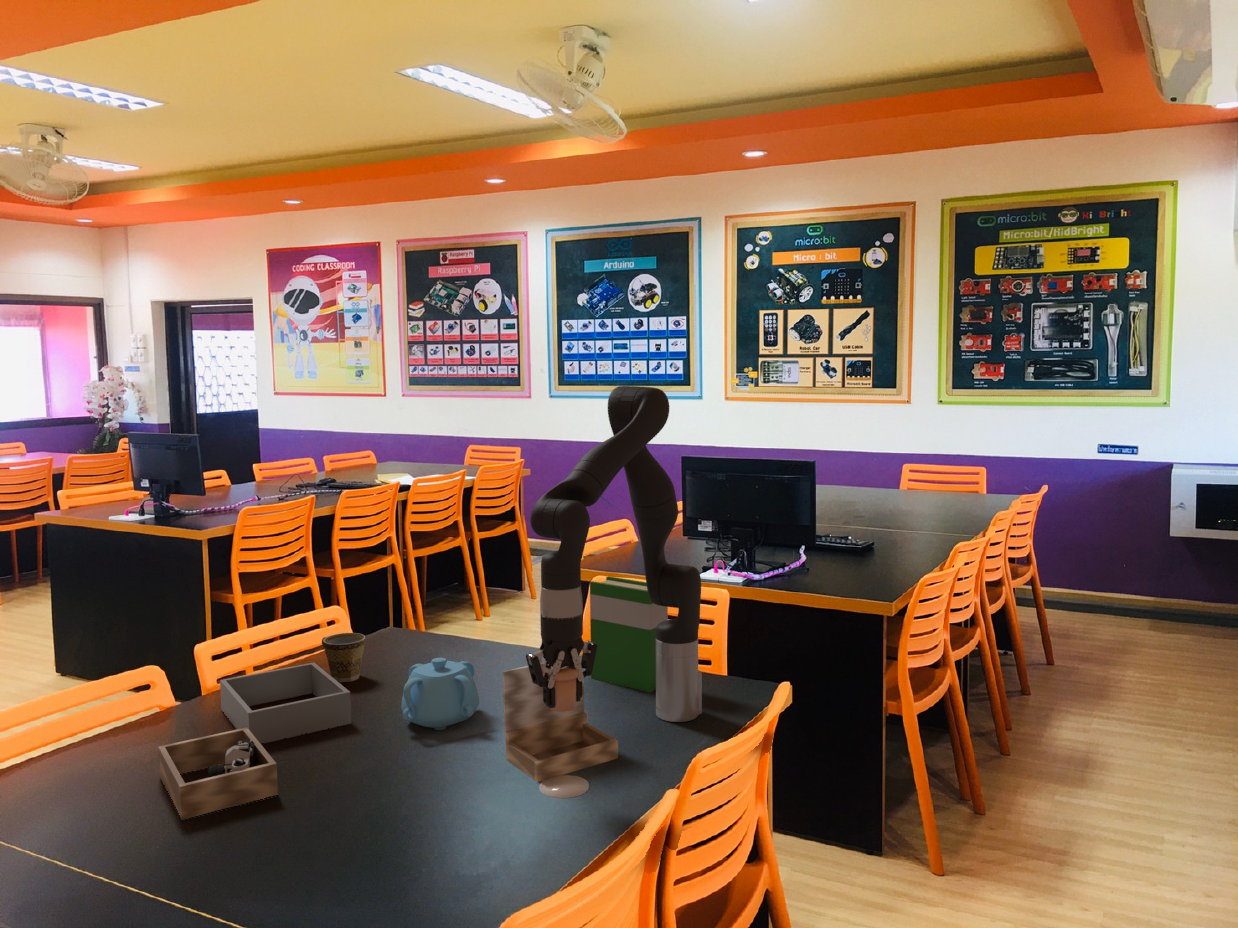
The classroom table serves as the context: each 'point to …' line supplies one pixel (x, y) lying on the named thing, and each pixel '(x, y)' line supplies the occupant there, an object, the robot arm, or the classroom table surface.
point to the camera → (235, 759)
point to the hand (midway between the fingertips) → (563, 703)
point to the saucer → (564, 786)
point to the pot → (565, 689)
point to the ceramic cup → (344, 655)
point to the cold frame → (548, 731)
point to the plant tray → (289, 717)
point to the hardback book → (624, 632)
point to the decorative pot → (440, 693)
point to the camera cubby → (217, 788)
